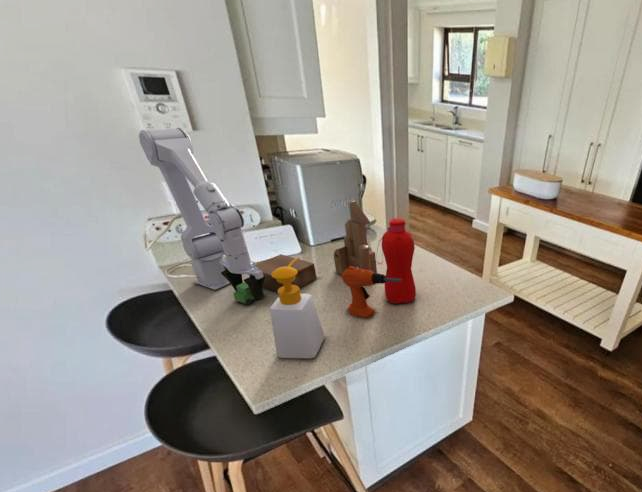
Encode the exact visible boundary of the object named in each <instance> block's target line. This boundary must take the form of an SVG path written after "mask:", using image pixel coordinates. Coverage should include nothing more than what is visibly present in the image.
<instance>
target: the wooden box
mask: <svg viewBox="0 0 642 492" xmlns="http://www.w3.org/2000/svg"><path fill="white" fill-rule="evenodd" d="M315 280H317V272H316V267H315V265H314V266H313V267H311V268H308V269H306V270H304V271H302V272H300V273H298V274H297V275H295V280H294V281H292V282H291V285H296V286H298V287H299V289H301V288H303V287H305V286H307V285H309V284H310V283H312V282H314V281H315ZM283 286H284V285H283V283H279V282H277V280H276V279H275V278H272V277H269V276H266V277H265V280H264V283H263V288H265V289H269V290H271V291H275V292H277V293H278V289H279V288H280V287H283Z"/></svg>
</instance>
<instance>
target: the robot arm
mask: <svg viewBox="0 0 642 492" xmlns="http://www.w3.org/2000/svg"><path fill="white" fill-rule="evenodd" d="M138 139H139V144H140V146H141V148H142V150H143V153H144V154H145V157H146V159H147V160H148V162H149V163H150V166H154V167H156V168H158V169H159V171H160V173H161V174H162V176H163V178H164V181H165V183H166V186H167V187H168V189H169V191H170V194H171V195H172V197H173V200H174V202H175V204H176V206H177V208H178V211H179V212H180V214H181V217H182V219H183V221H184V223H185V225H186V228H185V229H184V231H183V232H182V233H181V234H180V240H181V242H182V247H183V250H184V252H185V253H186V255H187V257H189V258H190V259H191V261H190V262H191V263H190V264H191V267H192V270H193V273H194V274H195V277H196V280H195V281H194V283H195V284H197V285H200V286H202V287H205V288H208V289H211V290H214V291H216V290H219V289H221V288H223V287H226V286H228V285H229V284H230V285H231V287H232V288H233V290H234V291H235V292H237V288H236V286H237V285H239V284H241V283H244V282H245V283H246V284H247V285H248V286H249V288H250V290H251V292H252V294H253V296H254V298H255V299H254V300H259V299H261V298H260V297H262V288H263V289H264V287H263V283H264V280H265V277H266V276H265V274H263V272H262V271H261V270H259V269H258V268H257V267H255V266H254V265H255V264H256V262H255V261H253V260H251V257H250V253H249V250H248V246H247V242H246V239H245V236H244V232H243V229H242V228H243V227H244V226H245V219H244V217H243V214H242V213H241V211H240V209H239V208H238V207H237V206H235V205H233V203H232V202H228V200H227V199H226V196H224V195H223V193H222V192H221V190H220V189H219V188H218V185H217V184H215V183H214V182H212V181H211V182H210V181H208V178H207V177H206V176H205V174H204V172H203V171H202V169H201V168H200V165H199V164H198V161H197V160H196V158H195V157H194V147H193V146H194V145H193V142H192V139H191V137H190V135H189V134H188V132H187V131H186V130H185V129H184V128H182V127H176V128H162V129H147V130H146V129H141V130H140V131H139V133H138ZM189 182H190V184H191V185H192V186H193V187H194V188H193V191H192V187H191V186H190V184H189ZM196 199H197V200H196ZM198 202H199V204H200V205H201V206H202V208H203V209H204V210H205V212H206V213H207V215H208V222H209V224H208V223H207V222H206V219H205V217H204V215H203V213H202V210H201V209H200V206H199V204H198ZM224 256H225V257H224ZM243 275H248V277H247V278H244V279H243ZM262 298H263V297H262Z"/></svg>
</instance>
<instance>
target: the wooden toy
mask: <svg viewBox="0 0 642 492" xmlns="http://www.w3.org/2000/svg"><path fill="white" fill-rule="evenodd" d="M348 206H349V215H350V218H349V219H347V221H346V222H345V224H344V228H345V229H344V230H345V235H344V236H343V243H344V246H341V247H338V248H336V249H335V250H334V251H333V261H334V268H335V273H337V274H339V275H341V276H342V273H343V272H344V271H345V270H346V269H347V268H348V267H350V266H353V267H355V268H359V269H363V270H371V271H373V272H376V273H377V274H378V269H377V256H376V252H375V251H374V250H373V249H372V248H371V247H370V245H369V243H368V238H367V237H368V236H367V227H366V225H370V224H371V221H370V219H369V218H368V216H367V215H366V214H365V212H364V211H363V209H362V208H361V207H360V205H359V204H358V202H357V201H356V200H352V201H349V202H348Z"/></svg>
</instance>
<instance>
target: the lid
mask: <svg viewBox="0 0 642 492" xmlns="http://www.w3.org/2000/svg"><path fill="white" fill-rule="evenodd" d="M296 258H297V257H292V256H288V255H285V254H278V255H275V256H273V257H270V258H268V259H266V260H263V261H261V262H258V263H255V265H254V266H255V267H257V268H258V269H259V270H261V271H262V272H263V274H265V276H269V277H272V276H271V274H272V272H273V271H274V270H276V269H277V268H280V267H288V265H289V264H290V263H291V262H292V261H293V260H294V259H296ZM313 266H314V267H315V263H314V262H310V261H307V260H303V259H298V260H297V261H295V262H294V263H293V264H292V265H291V267H292V268H294V269H296V270H297V271H298V273H300V272H302V271H304V270H306V269H308V268H311V267H313ZM298 273H297V274H298ZM272 278H273V277H272Z"/></svg>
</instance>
